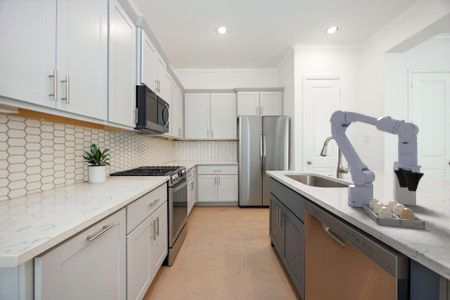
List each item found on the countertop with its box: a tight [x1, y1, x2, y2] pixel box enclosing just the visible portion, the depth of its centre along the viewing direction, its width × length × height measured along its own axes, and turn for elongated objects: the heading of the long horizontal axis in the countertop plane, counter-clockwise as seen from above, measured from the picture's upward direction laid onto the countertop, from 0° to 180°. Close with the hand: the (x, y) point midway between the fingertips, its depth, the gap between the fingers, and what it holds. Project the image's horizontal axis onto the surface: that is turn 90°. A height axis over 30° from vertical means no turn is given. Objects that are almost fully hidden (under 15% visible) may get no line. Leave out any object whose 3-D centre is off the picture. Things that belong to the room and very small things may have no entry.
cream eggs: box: [369, 198, 406, 218], centre depth 79 cm, size 10×16×5 cm, turn 159°
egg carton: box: [362, 204, 426, 229], centre depth 79 cm, size 13×19×2 cm
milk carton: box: [392, 161, 417, 207], centre depth 98 cm, size 7×7×19 cm
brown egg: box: [400, 207, 416, 220], centre depth 72 cm, size 4×4×5 cm
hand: (407, 189), depth 83 cm, fingers open, 7 cm apart
